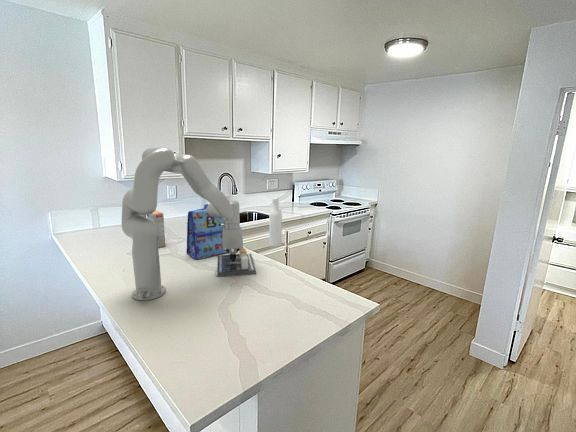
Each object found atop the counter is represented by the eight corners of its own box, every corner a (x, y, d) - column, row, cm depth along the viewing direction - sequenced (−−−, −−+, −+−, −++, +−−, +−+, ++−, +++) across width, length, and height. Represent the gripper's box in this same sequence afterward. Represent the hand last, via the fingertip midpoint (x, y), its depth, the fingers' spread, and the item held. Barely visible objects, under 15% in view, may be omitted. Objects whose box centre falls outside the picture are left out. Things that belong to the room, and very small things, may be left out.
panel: (255, 274, 145) (255, 269, 144) (217, 276, 141) (217, 272, 141) (251, 257, 168) (251, 253, 167) (217, 259, 164) (217, 255, 164)
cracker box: (166, 246, 185) (163, 212, 180) (156, 248, 181) (153, 214, 176) (158, 241, 195) (156, 209, 191) (148, 243, 191) (145, 210, 187)
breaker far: (245, 257, 161) (245, 248, 160) (239, 257, 160) (239, 248, 159) (245, 254, 165) (244, 246, 164) (239, 255, 164) (239, 246, 163)
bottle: (267, 244, 192) (267, 197, 185) (279, 242, 195) (279, 196, 188) (271, 247, 184) (271, 199, 178) (283, 246, 187) (284, 198, 181)
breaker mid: (246, 262, 153) (246, 252, 152) (240, 263, 153) (240, 252, 151) (246, 260, 157) (246, 249, 156) (240, 260, 156) (240, 250, 155)
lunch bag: (195, 260, 162) (192, 207, 156) (186, 254, 172) (182, 204, 166) (231, 252, 175) (230, 203, 169) (220, 246, 185) (219, 200, 179)
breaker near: (248, 268, 146) (247, 258, 145) (241, 269, 145) (241, 259, 144) (247, 265, 149) (247, 256, 148) (241, 266, 149) (241, 256, 148)
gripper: (216, 228, 145) (217, 264, 149) (247, 227, 148) (248, 262, 152) (216, 224, 152) (218, 259, 156) (246, 223, 155) (247, 257, 159)
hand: (233, 260), depth 154 cm, fingers closed
